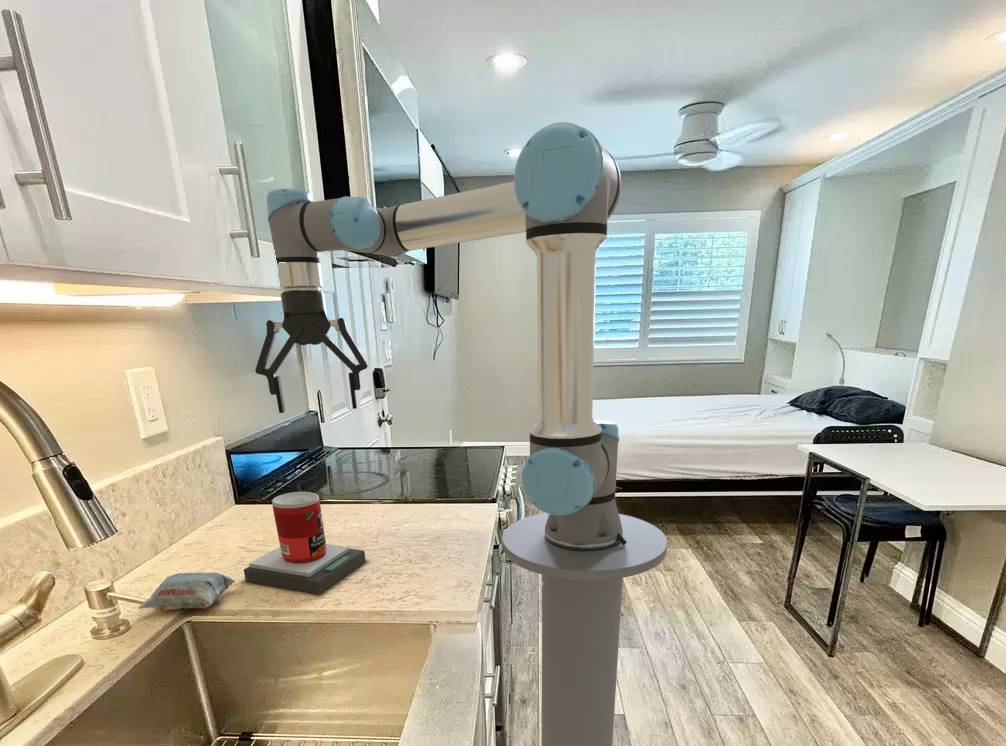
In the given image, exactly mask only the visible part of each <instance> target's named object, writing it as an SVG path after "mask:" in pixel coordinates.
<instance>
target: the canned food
mask: <svg viewBox="0 0 1006 746" xmlns="http://www.w3.org/2000/svg"><path fill="white" fill-rule="evenodd" d="M271 503H272V504H271V506H272V511H273V516H274V521H275V522H274V523H275V526H276V532H277V537H278V542H279V547H280V549H281V554H282V556H283V558H284V560H286V561H288V562H291V563H307V562H312V561H315V560H318V559H320V558H322V557H323V556H324V555H325V554H326V549H327V547H326V544H327V541H326V534H325V527H324V521H323V520H324V519H323V514H322V506H321V501H320V497H319V494H318V493H315V492H311V491H292V492H287V493H283V494H280V495H276V496H275V497H274V498H272V500H271Z"/></svg>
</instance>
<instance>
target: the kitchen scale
mask: <svg viewBox="0 0 1006 746" xmlns="http://www.w3.org/2000/svg"><path fill="white" fill-rule="evenodd" d="M326 547H327V549H326V554H325V555H324V556H323V557H322V558H320V559H318V560H315V561H312V562H307V563H291V562H288V561H286V560H284V558H283V556H282V554H281V549H280V546H279V547H276V548H275V549H273V550H272V551H270V552H267V553H266V554H263V555H262V556H260V557H258V558H256V559H254V560H252V561H251V562H249V563H248V566H247V567H245V568H244V569H243V575H244V579H245V582H247V583H252V584H258V585H264V586H270V587H276V588H282V589H288V590H293V591H297V592H304V593H310V594H316V595H321V594H322V593H324V592H326V590H327V591H328V589H329V588H332V586H334V585H336V584H337V583H338V582H339V581H341V580H342V579H344V578H345V577H347V576H348V575H350V574H351V573H352V572H354V571H355V570H356V569H358V568H359V567H361V566H362V565H364V564H365V563H366V562H367V560H366V551H365V550H364V549H358V548H357V549H356V548H351V547H350V546H344V545H338V544H331V543H326Z"/></svg>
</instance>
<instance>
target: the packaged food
mask: <svg viewBox="0 0 1006 746" xmlns="http://www.w3.org/2000/svg"><path fill="white" fill-rule="evenodd" d="M234 583H235V580H234V579H233V578H231V577H229V576H227V575H225V574H223V573H220V572H215V571H214V572H213V571H212V572H211V571H209V572H177V573H174V574H172V575H169V576H168V577H166V578H165V579H164V580H163V581H162V582H161V583H160V584H159V586H158V587H157V588H156V589H155V590H154V591H153V593H152V594H151V596H150V598H147V600H145V601H144V602H143V603H141V604H140V605H138V608H137V609H139V610H142V609H154V610H157V611H171V610H173V611H174V610H197V609H206V608H208V607H210V606H213V603H214V602H216V600H217V599H218V597H220V596H221V595H222V594H223V593H224V592H225V591H226V590H228V589H229V588H230V586H232V585H233V584H234Z"/></svg>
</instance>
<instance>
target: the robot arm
mask: <svg viewBox="0 0 1006 746" xmlns="http://www.w3.org/2000/svg"><path fill="white" fill-rule="evenodd" d="M514 167H515V168H514V173H513V174H514V175H513V181H510V182H505V183H501V184H495V185H490V186H486V187H480V188H476V189H470V190H465V191H461V192H456V193H452V194H447V195H442V196H436V197H432V198H426V199H421V200H417V201H412V202H408V203H407V202H406V203H402V204H400V205H393V206H389V207H382V208H381V207H376V206H374V205H373V204H371V201H370V200H369V199H368V198H366V197H364V196H349V195H345V196H342V197H338V198H332V199H323V200H316V201H313V198H312V195H311V194H310V192H309V191H307V190H304V189H299V188H289V187H288V188H276V189H271V190H270V191H269V192H267V195H266V206H267V208H266V209H267V222H268V225H269V229H270V230H269V231H270V236H271V240H272V247H273V246H274V247H273V251H274V250H275V253H274V256H275V255H276V260H277V267H278V275H277V278H278V277H279V281H280V286H279V285H278V287H279V288H280V289H282V290H283V291H281V293H280V299H281V300H280V301H281V306H282V312H283V320H282V321H275V320H274V319H268V320H266V323H265V325H266V335H265V337H264V341H263V344H262V347H261V349H260V350H261V351H260V353H259V357H258V360H257V363H256V365H255V371H254V372H255V373H256V374H257V375H261V376H264V377H266V379H267V385H268V389H269V393H270V395H271V396H273V395H274V396H275V397H276V402H277V408H278V414H284V413H285V412H286V406H285V400H284V395H283V388H282V383H281V376H280V375H276V373H277V372H278V370H279V369H280V367H281V366H282V364H283V363H284V362H285V360H286V358H287V357H288V355H289V354H290V352H291V351H292V349H293V348H294V346H295V345H299V346H308V345H312V346H315V345H316V346H318V345H320V344H322V343H323V344H324V345H325V346H326V347H327V348H328V349H329V350H330V351H331V352H332V353H333V354H334V355H335V356H336V357H337V358H338V359H339V361H341V362H342V363H343V364H344V365H345V366H346V368H348V369H349V371H351V372H348V381H349V387H350V388H349V389H350V390H349V391H350V397H351V407H352V410H355V409H357V408H358V403H357V395H356V394H357V393H356V391H360V390H361V378H360V372H362V371H364V370H367V369H368V366H369V364H368V362H367V361H366V359H365V358H364V356H363V354H362V352H361V350H360V349H359V348H358V346H357V344H356V343H355V341H354V340H353V337H352V336H351V334H350V333H349V331H348V328H347V324H346V321H345V319H344V318H343V317H339V318H337V319H329V317H328V313H327V305H326V299H325V293H324V291H322V290H321V289H322V288H323V287H324V283H323V275H322V268H321V261H320V259H321V258H320V253H323V252H336V251H345V252H347V251H348V252H354V253H355V252H356V253H364V254H373V255H379V256H383V257H387V258H391V257H401V256H403V255H405V254H406V253H408V252H412V251H416V250H422V249H429V248H436V247H442V246H447V245H454V244H459V243H467V242H473V241H478V240H486V239H491V238H498V237H503V236H510V235H516V234H521V233H525V243H526V245H527V246H528V247H529V248H530V249H531V250H532V252H534V254H535V257H536V299H537V300H536V302H537V303H536V304H537V305H536V306H537V307H536V308H537V309H536V310H537V313H536V314H537V377H538V378H537V379H538V380H537V381H538V382H537V385H538V389H537V390H538V391H537V393H538V397H537V398H538V399H537V400H538V419H537V421H536V422H535V424H533V426H532V427H530V429H529V457H528V458H527V459H526V461H525V462H524V465H523V467H522V470H521V477H520V478H521V480H520V481H521V486H522V490H523V492H524V495H525V497H526V498H527V499H528V500H529V502H530V503H532V504H533V506H535V508H537V510H538V509H539V511H542V513H548V514H549V516H548V519H547V522H546V525H545V539H546V540H547V541H548V542H549V543H550V544H552V545H554V546H557V547H559V548H563V549H567V550H574V551H599V550H605V549H609V548H612V547H614V546H616V545H618V544H619V543H620V542H621V543H622V544H623V545H625V544H626V543H627V541H626V540H625V539H624V538H623V529H622V524H621V521H620V517H619V514H620V513H619V509H618V506H617V503H616V486H617V472H618V471H617V469H618V452H619V443H620V437H619V427H618V425H617V423H615V422H612V421H610V420H609V421H608V420H597V419H596V420H595V419H594V417H593V405H594V403H593V401H594V400H593V399H594V398H593V397H594V353H595V313H596V312H595V311H596V309H595V308H596V307H595V305H596V270H597V269H596V268H597V267H596V266H597V265H596V262H597V261H596V260H597V252H598V250H599V249H600V247H601V246H602V245H603V244H604V243H605V241H606V240H607V239H608V220H609V219H610V218H611V217H612V215H613V214H614V212H615V211H616V208H617V206H618V204H619V200H620V198H621V193H622V192H621V191H622V176H621V171H620V168H619V166H618V163H617V161H616V160H615V158H614V156H613V155H612V154H611V153H610V152H609V151H608V150H607V149H606V148H605V147H603V145H602V144H601V143H600V142H599V140H598V139H597V137H596V136H595V134H593V132H591V131H590V130H588V129H586V128H585V127H583V126H580V125H578V124H575V123H572V122H567V121H566V122H565V121H560V122H559V121H558V122H553V123H550V124H548V125H545V126H544V127H542V128H540V129H539V130H537V131H536V132H535V133H534V134H533V135H531V136H530V138H529V139H528V141H526V144H525V145H524V146H523V147H522V149H521V150H520V153H519V155H518V157H517V160H516V163H515V166H514ZM276 260H275V261H276ZM279 262H286V263H279ZM279 281H278V282H279ZM331 327H333V328H334V330H335V331H337V332H340V334H341V336H342V338H343V339H344V341H345V343H346V345H347V346H348V347H349V350H350V351H351V353H352V354H353V356H354V357H355V359H356V361H357V362H358V364H356V363H355V362H353V360H352V359H351V358H350V357H349V356H348V355H347V354H346V353H345V352H344V351H343V350H342V349H341V348H340V347H339V346H338V345H337V344H336V343H335V342H334V341H333V340H332V339H331V338H330V337H329V336H328V333H329V331H330V329H331ZM281 329H283V330H284V331H285V332H286V334H287V335H289V337H288V339H287V340H286V341H285V343H284V345H283V347H282V348H281V350H280V351H279V352H278V354H277V356H276V357H275V358H274V360H273V361H272V363H271V364H270V366H269V368H267V364H268V361H269V357H270V355H271V352H272V350H273V349H272V348H273V345H274V342H275V339H276V337H277V334H279V333H280V331H281Z"/></svg>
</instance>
